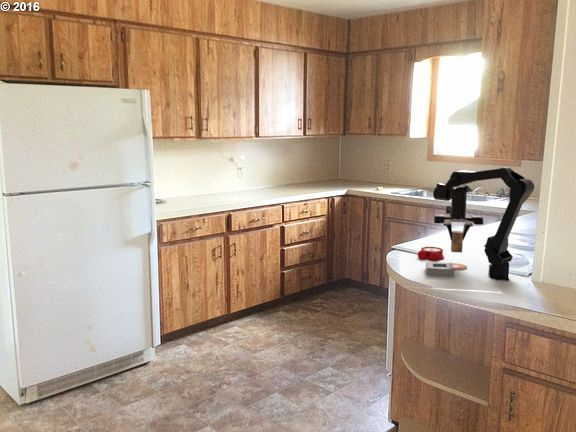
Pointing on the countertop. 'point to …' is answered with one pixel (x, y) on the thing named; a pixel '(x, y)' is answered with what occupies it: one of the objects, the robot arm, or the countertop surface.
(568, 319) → the countertop surface
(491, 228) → the countertop surface
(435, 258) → the alarm clock
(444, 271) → the pocket holder
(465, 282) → the countertop surface
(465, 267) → the terracotta plate
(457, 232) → the walnut block
